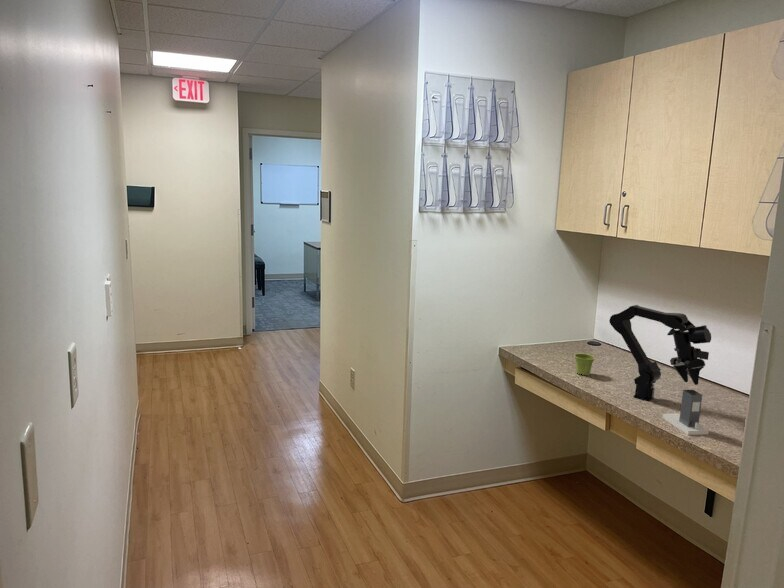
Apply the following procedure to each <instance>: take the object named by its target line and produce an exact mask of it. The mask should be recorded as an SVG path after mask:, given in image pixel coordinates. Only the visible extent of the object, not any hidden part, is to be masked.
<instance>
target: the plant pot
mask: <svg viewBox="0 0 784 588" xmlns="http://www.w3.org/2000/svg"><path fill="white" fill-rule="evenodd" d="M573 356H574V359H575V373H576V372H577V373H578V374H577V373H576V374H577V375H579V374H580V375H581V374H582V376H584V375H585V376H589V375H590V373H591V370H592V366H593V363H594V360H596V358H595V357H596V356H594V355H591V354H588V353H575V354H574V355H573ZM588 374H589V375H588Z"/></svg>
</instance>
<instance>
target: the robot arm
mask: <svg viewBox="0 0 784 588" xmlns="http://www.w3.org/2000/svg"><path fill="white" fill-rule="evenodd" d="M636 316H637V317H639V318H643V319H646V320H647V319H648V320H650V321H655V322H659V323H661V324H663V325H664V326H666V327H668V328H670V330H669V331H668V333H667V336H673V341H674V348H673V349H674V351H675V352H676V354H677V356H675V357H671V359H670V360H669V362H670V365H671V366H672V368H673V369H674V370H675V371H676V373H677V374H678V375H679V376H680V377H681V379H682V381H684V383H688V382H689V377H690V379H691V380H692V383H693V384H694V385H695V386H696V385H698V386H699V377H700V373H701V371H702V369H704V368H705V367H706V362H705V360H706V361H708V360H709V356H710V352H709V351H703V350H701V348H698V347H695V346H692V344H693V345H696V344H697V345H698V344H706V343H707V344H709V343H711V341H712V333H711V332H710V329H708V327H707V325H706V324H705V325H701V326H695V325H694V323H693V322H692V321H690V320H689V318H688V317H687V315H686V314H685V313H681V312H664V311H660V310H657V309H652V308H648V307H644V306H640V305H638V304H635V305H631V306H629V307H628V308H626V309H624V310H622V311H621V312H618V313H616V314H611V316H610V317H609V324H610V325H611V327H612V328H613V329H614V331H616V332H617V333H618V334H619V335H620V336H621V337H622V339H623V341H624V342H625V344H626V346H627V348H628V350H629V351H630V353H631V355H632V357H633V358H634V360H635V362H636V364H637V370H638V374H639V376H637V377H635V378H634V379H633V380H634V384H635V393H634V395H633V398H636V399H639V400H644V401H647V402H648V401H649V402H650V401H651V400H652V399H654V397H655V388H654V386H655V384H656V383H657V381H658V380H660V379H661V376H662V372H661V370H662V369H661V368H660V367H659V365H658V363H657V361H651V360H650V359H649V358H648V356H647V354H646V352H645V351H644V349H643V347H642V345H641V344H640V342H639V340H638V339H637V337H636V335H635V333H634V332H633V329H632V322H631V320H632V319H634V318H635V317H636ZM691 343H692V344H691ZM688 376H689V377H688Z"/></svg>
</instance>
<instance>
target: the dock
mask: <svg viewBox="0 0 784 588" xmlns="http://www.w3.org/2000/svg"><path fill="white" fill-rule="evenodd" d="M662 418H663V419H664V420H666V421H667V422H669V423H670V425H671V424H672V425H673V426H674V427H675V428H677V429H679V430H680V431H682V432H683V433H685V434H686V435H688V436H692V435H693V436H696V435H709V434H710V433H709V431H710V430H708V428H706V427H704V426H702V425H701V424H700V422H699V423H698V422H695V427H687V426H686V425H684V424H683V423H681V422H680V421H679V418H680V412H679V413H663V414H662Z"/></svg>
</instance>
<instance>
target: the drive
mask: <svg viewBox="0 0 784 588" xmlns="http://www.w3.org/2000/svg"><path fill="white" fill-rule="evenodd" d="M702 400H703V394H701V393H700V392H698V391H696V390H695V389H682V395H681V404H680V412H679V413H680V418H679V421H680V422H681V423H683V424H684V425H686V426H687V427H695V422H698V423H699V424H700V415H701V407H702Z"/></svg>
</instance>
